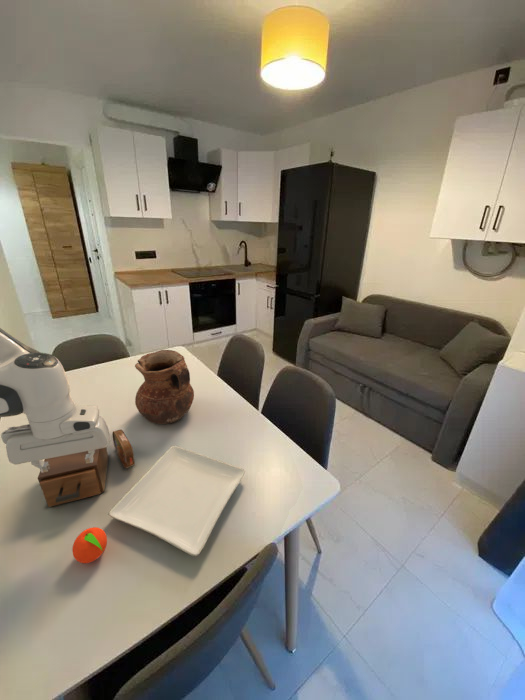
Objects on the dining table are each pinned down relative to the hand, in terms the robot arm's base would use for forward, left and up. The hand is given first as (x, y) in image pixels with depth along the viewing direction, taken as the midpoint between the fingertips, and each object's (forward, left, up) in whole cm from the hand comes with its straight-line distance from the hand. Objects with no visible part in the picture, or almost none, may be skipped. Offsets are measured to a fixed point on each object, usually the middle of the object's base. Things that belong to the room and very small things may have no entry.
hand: (68, 465), depth 72 cm
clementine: (+5, -14, -16) cm, 22 cm away
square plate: (+26, -6, -16) cm, 31 cm away
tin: (+10, +16, -16) cm, 25 cm away
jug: (+25, +36, -16) cm, 47 cm away
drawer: (-2, +8, -15) cm, 17 cm away
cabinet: (-2, +11, -16) cm, 20 cm away
